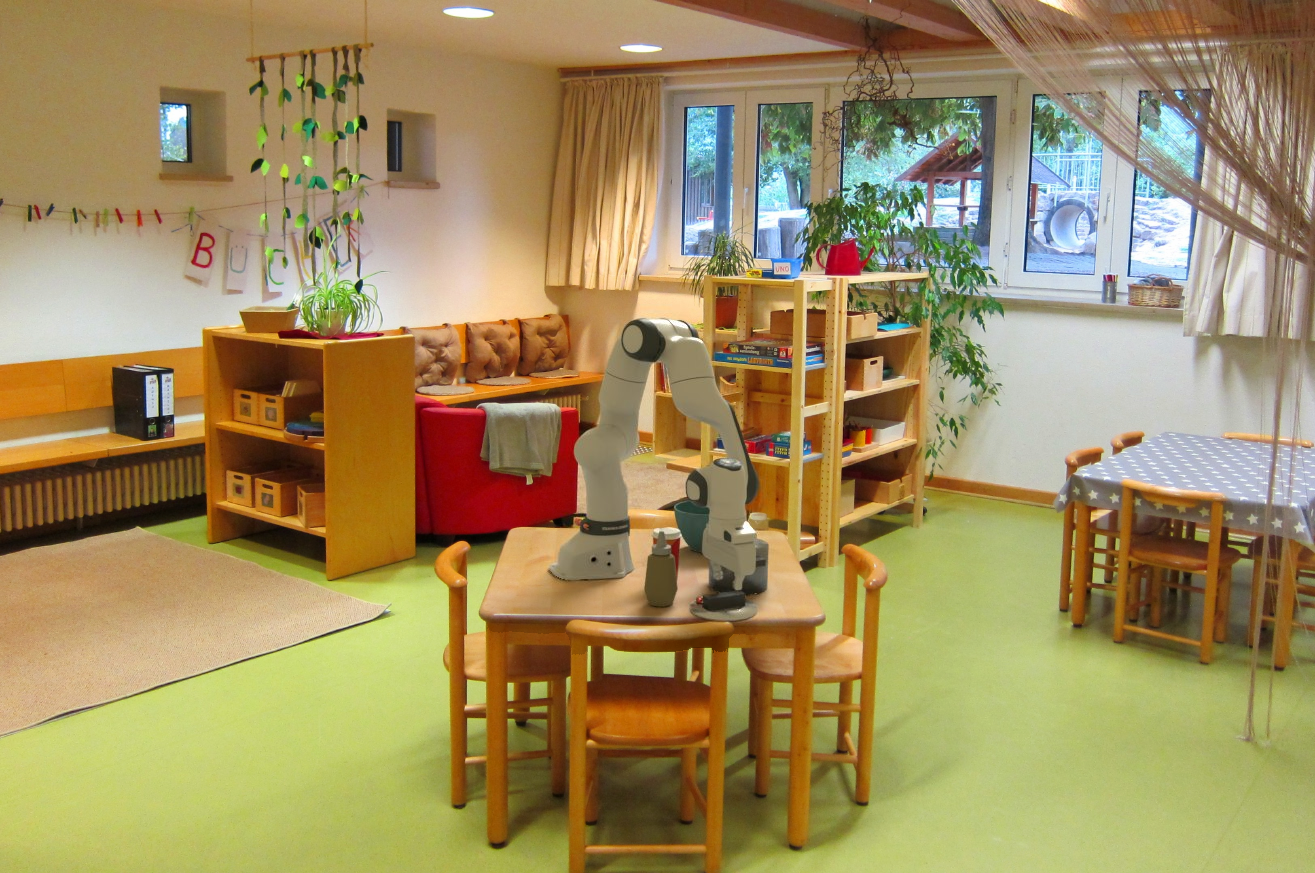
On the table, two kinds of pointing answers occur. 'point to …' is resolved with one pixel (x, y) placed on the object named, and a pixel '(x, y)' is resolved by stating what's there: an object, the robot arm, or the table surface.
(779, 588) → the table surface
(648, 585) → the squeeze bottle
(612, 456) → the robot arm
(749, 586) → the pot
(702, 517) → the teal bowl
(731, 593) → the lid
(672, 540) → the paper cup
